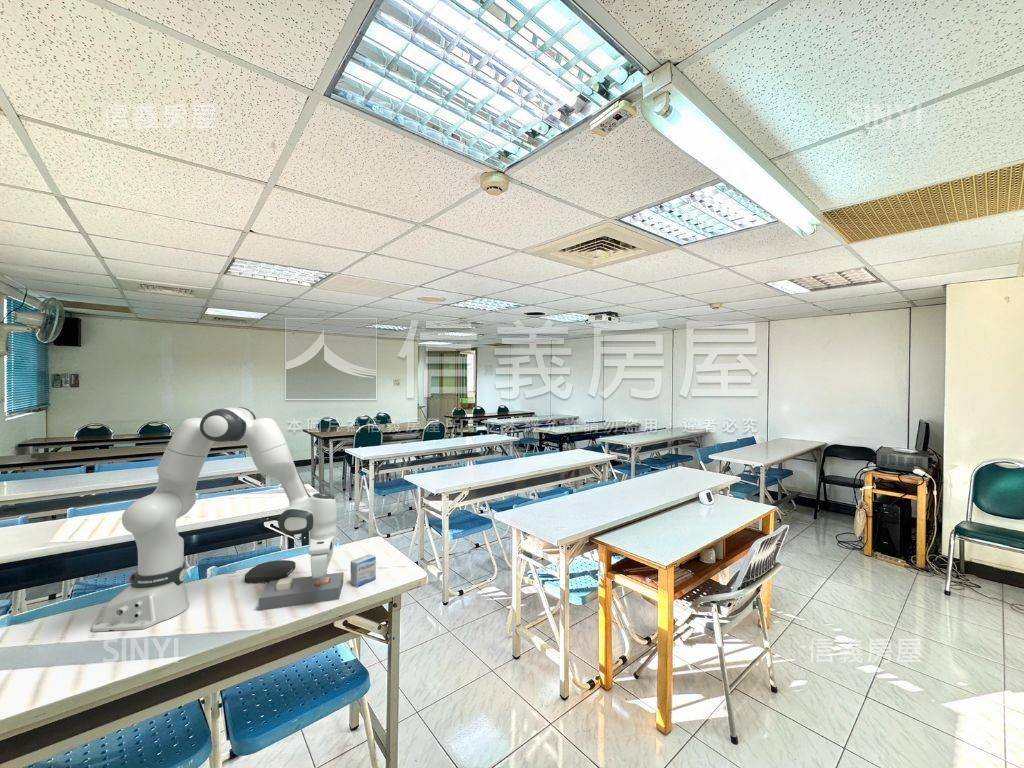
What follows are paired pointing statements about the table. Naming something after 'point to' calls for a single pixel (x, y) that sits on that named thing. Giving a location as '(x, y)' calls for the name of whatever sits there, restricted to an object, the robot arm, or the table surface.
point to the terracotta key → (323, 581)
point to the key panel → (301, 592)
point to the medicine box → (363, 570)
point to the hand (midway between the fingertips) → (323, 579)
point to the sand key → (284, 584)
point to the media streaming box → (270, 571)
